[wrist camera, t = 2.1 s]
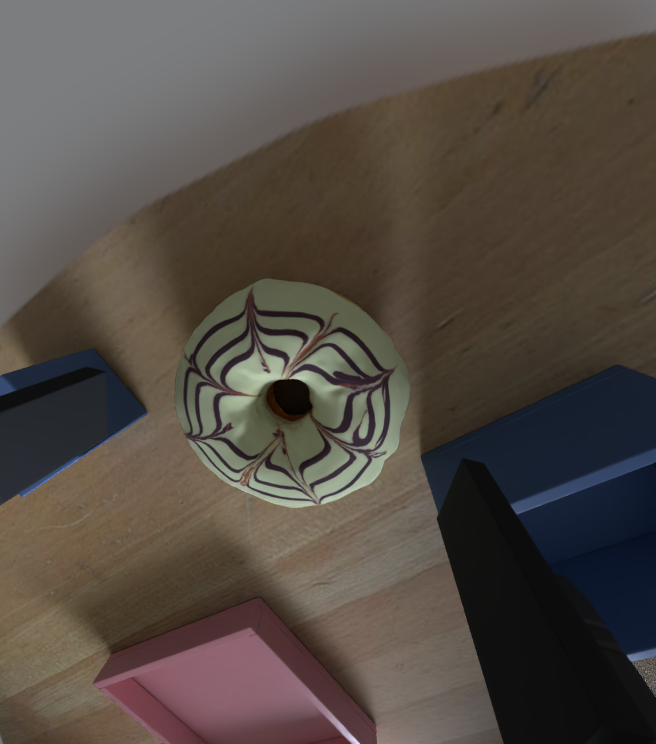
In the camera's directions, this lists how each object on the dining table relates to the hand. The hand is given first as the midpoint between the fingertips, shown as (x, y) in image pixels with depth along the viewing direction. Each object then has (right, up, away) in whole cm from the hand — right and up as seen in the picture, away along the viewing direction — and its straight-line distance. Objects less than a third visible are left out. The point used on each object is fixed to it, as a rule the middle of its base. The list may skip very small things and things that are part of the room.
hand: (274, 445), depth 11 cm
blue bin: (+14, -4, +5) cm, 16 cm away
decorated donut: (0, +2, +5) cm, 6 cm away
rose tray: (-5, -24, +15) cm, 29 cm away
